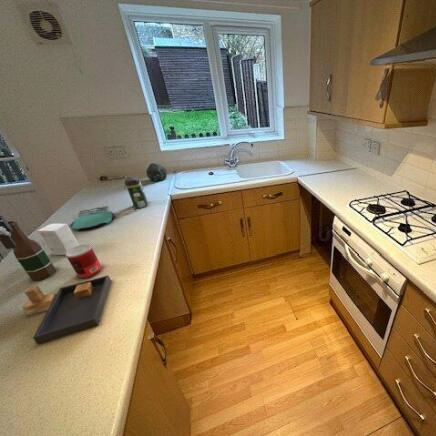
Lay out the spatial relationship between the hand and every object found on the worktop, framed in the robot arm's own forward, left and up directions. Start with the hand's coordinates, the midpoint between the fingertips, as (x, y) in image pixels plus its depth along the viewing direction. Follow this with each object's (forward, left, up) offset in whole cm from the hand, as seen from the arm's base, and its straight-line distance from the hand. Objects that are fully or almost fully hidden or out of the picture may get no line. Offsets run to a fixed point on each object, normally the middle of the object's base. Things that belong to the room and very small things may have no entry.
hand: (4, 255), depth 70 cm
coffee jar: (+23, +79, -22) cm, 85 cm away
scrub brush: (0, 0, -22) cm, 22 cm away
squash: (+32, +130, -22) cm, 136 cm away
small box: (-4, +38, -22) cm, 44 cm away
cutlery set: (0, +71, -22) cm, 74 cm away
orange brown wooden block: (+12, +1, -22) cm, 25 cm away
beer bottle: (-7, +22, -22) cm, 32 cm away
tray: (+12, -6, -22) cm, 26 cm away
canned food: (+10, +15, -22) cm, 29 cm away
